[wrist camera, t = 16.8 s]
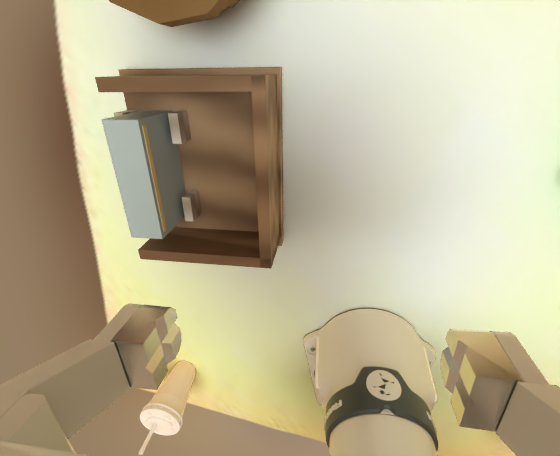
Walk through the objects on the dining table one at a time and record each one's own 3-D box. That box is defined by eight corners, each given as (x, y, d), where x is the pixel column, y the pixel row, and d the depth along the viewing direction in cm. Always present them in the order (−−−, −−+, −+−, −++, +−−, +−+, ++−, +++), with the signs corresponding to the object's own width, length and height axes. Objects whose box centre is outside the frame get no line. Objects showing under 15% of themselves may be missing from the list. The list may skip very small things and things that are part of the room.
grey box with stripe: (142, 110, 35) (100, 119, 28) (173, 110, 34) (138, 119, 28) (162, 211, 40) (131, 237, 34) (189, 212, 39) (162, 239, 33)
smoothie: (164, 354, 55) (115, 437, 42) (199, 356, 54) (160, 442, 41) (173, 379, 57) (129, 464, 45) (206, 382, 56) (171, 470, 44)
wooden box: (283, 240, 41) (274, 273, 34) (160, 232, 43) (129, 262, 37) (281, 67, 32) (268, 67, 25) (126, 69, 34) (77, 69, 28)
